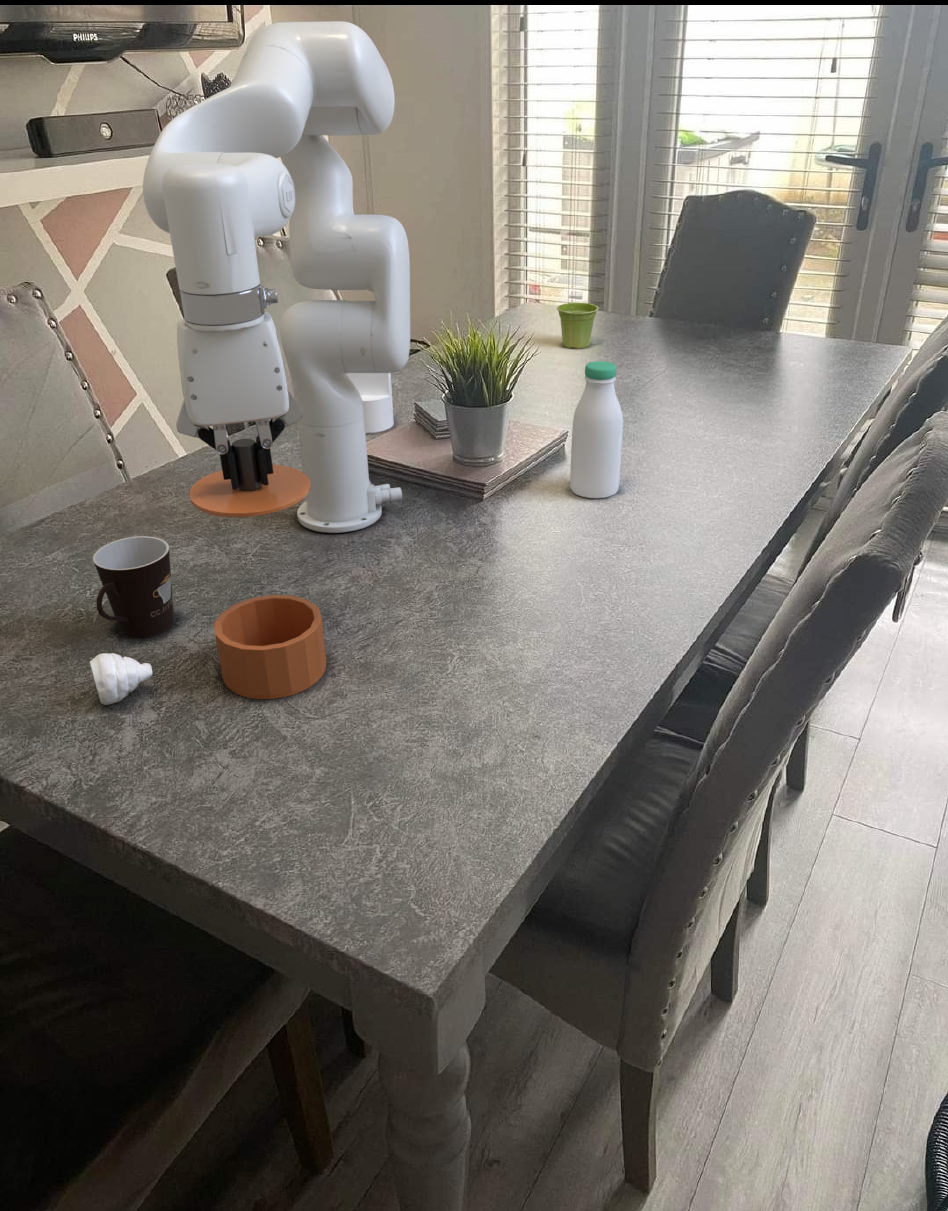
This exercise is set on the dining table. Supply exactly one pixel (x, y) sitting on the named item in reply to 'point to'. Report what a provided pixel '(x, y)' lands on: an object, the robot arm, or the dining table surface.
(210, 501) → the pot lid
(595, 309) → the plant pot
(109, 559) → the coffee mug
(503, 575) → the dining table surface
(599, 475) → the milk bottle
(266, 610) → the pot
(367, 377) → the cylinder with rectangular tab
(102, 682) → the white whipped cream swirl
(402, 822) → the dining table surface
